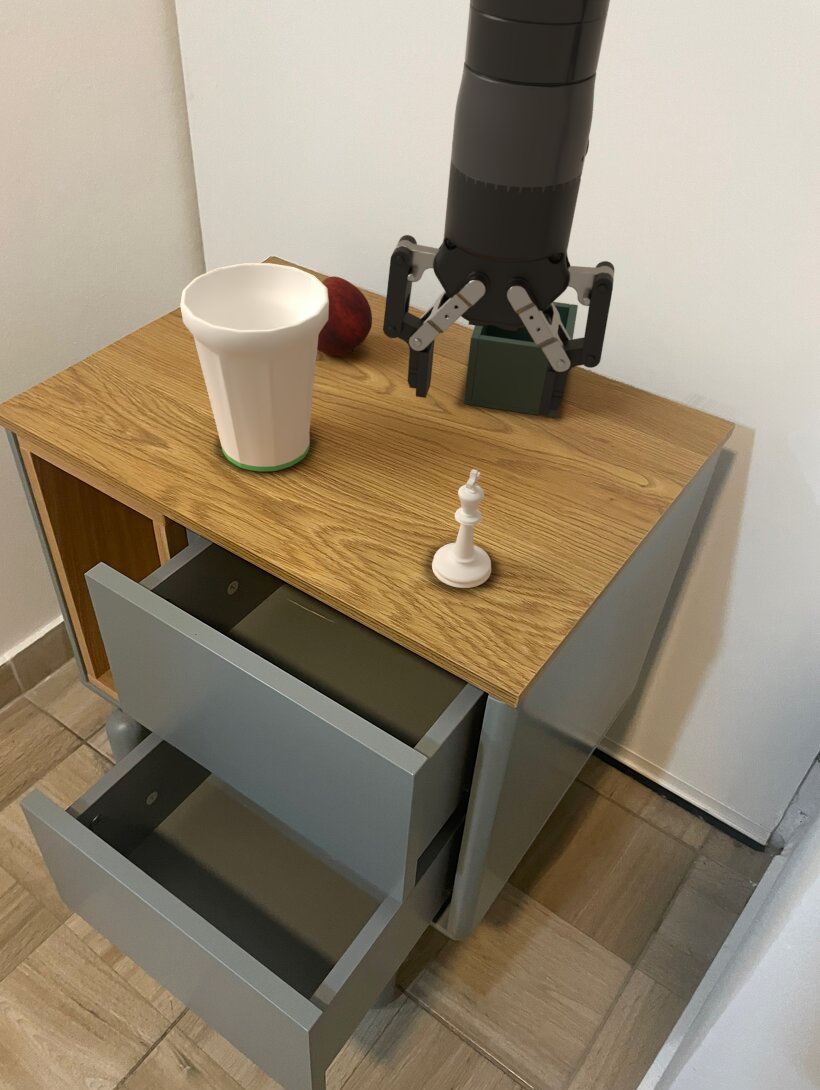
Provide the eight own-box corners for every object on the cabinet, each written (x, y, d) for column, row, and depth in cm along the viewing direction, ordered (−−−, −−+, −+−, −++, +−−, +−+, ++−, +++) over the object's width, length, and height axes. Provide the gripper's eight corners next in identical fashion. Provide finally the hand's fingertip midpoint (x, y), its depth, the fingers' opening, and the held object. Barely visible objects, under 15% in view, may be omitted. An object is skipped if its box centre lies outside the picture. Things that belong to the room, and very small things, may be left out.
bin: (564, 369, 95) (578, 304, 90) (557, 418, 89) (570, 351, 83) (477, 356, 97) (485, 292, 91) (463, 403, 90) (470, 337, 85)
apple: (326, 326, 101) (326, 258, 95) (384, 346, 98) (387, 277, 92) (289, 354, 96) (286, 284, 90) (349, 375, 93) (349, 305, 88)
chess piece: (422, 575, 72) (430, 479, 65) (446, 540, 75) (457, 444, 68) (477, 596, 71) (492, 499, 64) (500, 559, 74) (516, 463, 67)
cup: (176, 437, 85) (152, 287, 74) (282, 395, 90) (274, 249, 80) (247, 503, 78) (232, 348, 67) (357, 453, 84) (359, 302, 73)
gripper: (380, 165, 48) (371, 415, 60) (643, 196, 46) (581, 448, 58) (408, 121, 53) (395, 359, 65) (646, 147, 51) (588, 388, 63)
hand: (483, 401), depth 61 cm, fingers open, 8 cm apart
